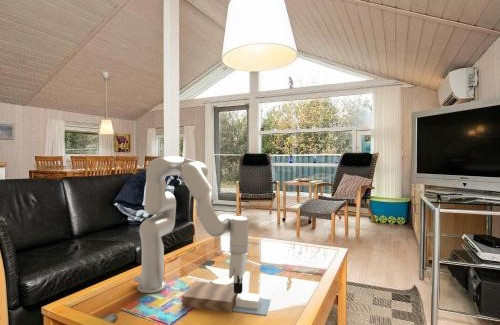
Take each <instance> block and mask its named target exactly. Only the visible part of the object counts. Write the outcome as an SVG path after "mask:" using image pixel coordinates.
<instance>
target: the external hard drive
mask: <svg viewBox="0 0 500 325" xmlns="http://www.w3.org/2000/svg"><path fill="white" fill-rule="evenodd" d="M209 283H214V284H223V285H232V286H233V285H234V275H233V276H232V278H229V274H227V275H226V274H225V275H224V276H220V277H219V278H216V279H213V280H210V282H209Z"/></svg>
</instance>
